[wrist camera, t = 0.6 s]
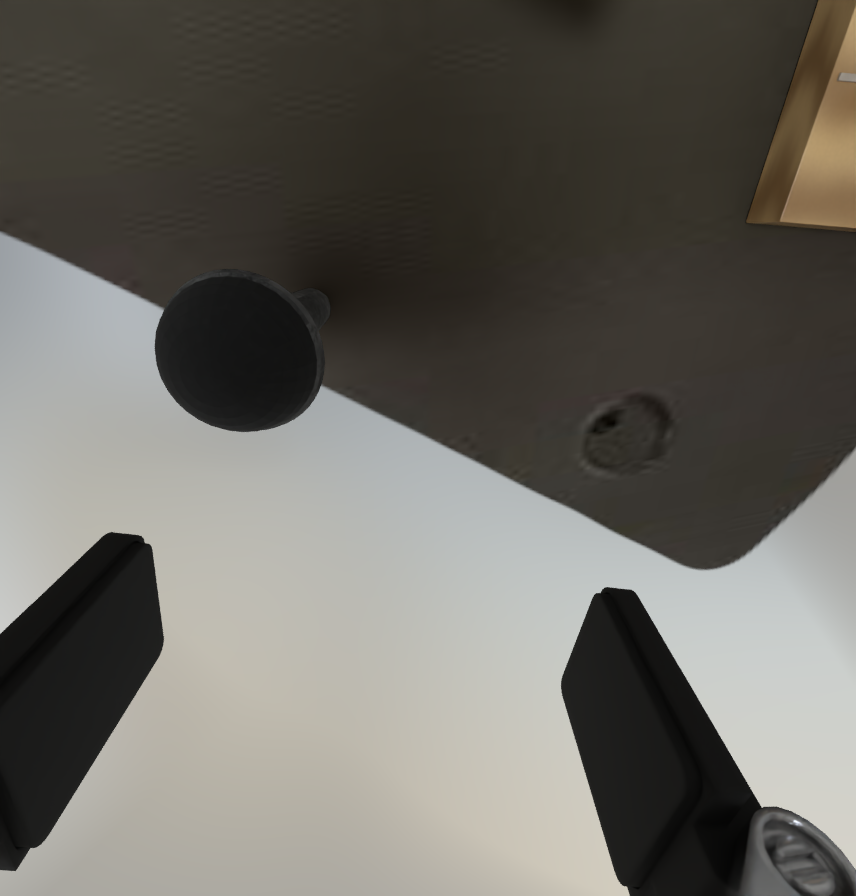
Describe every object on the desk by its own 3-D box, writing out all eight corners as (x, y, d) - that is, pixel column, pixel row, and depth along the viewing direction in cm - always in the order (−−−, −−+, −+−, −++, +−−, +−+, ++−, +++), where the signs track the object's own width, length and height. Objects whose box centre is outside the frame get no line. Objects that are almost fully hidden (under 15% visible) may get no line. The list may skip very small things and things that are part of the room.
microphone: (374, 263, 34) (318, 303, 16) (359, 354, 37) (296, 476, 19) (279, 240, 33) (106, 254, 15) (271, 335, 36) (117, 442, 18)
